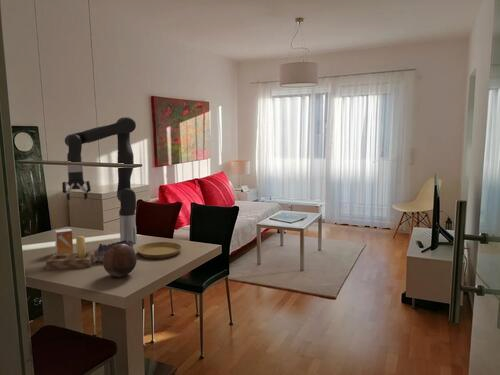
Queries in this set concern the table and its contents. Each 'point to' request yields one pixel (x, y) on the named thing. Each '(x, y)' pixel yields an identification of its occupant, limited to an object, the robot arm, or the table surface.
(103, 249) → the geode
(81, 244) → the peg
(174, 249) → the plant saucer
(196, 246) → the table surface
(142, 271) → the table surface
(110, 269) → the wooden sphere
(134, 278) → the table surface
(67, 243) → the small box
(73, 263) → the hole block
